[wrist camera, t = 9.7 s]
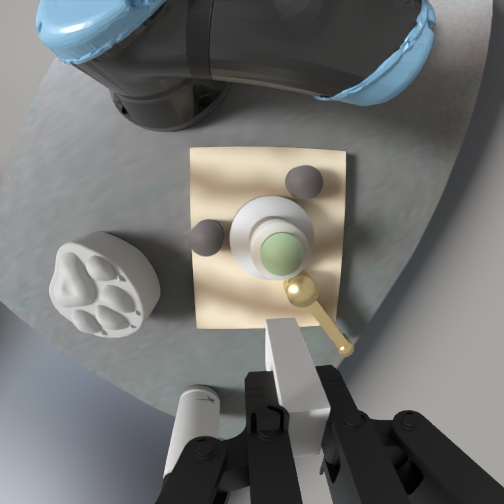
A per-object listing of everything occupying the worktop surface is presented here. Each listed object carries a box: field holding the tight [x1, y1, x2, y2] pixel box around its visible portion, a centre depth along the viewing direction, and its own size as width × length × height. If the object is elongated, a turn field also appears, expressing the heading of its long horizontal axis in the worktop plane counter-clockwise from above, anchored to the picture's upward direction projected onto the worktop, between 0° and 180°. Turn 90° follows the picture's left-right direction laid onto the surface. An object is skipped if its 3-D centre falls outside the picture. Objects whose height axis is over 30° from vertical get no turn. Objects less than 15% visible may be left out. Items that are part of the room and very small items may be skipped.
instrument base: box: [189, 147, 346, 329], centre depth 30 cm, size 22×18×12 cm
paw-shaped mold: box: [49, 231, 160, 338], centre depth 32 cm, size 10×13×9 cm
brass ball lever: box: [283, 270, 354, 357], centre depth 34 cm, size 13×4×3 cm, turn 38°
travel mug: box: [161, 385, 220, 491], centre depth 31 cm, size 6×7×20 cm
